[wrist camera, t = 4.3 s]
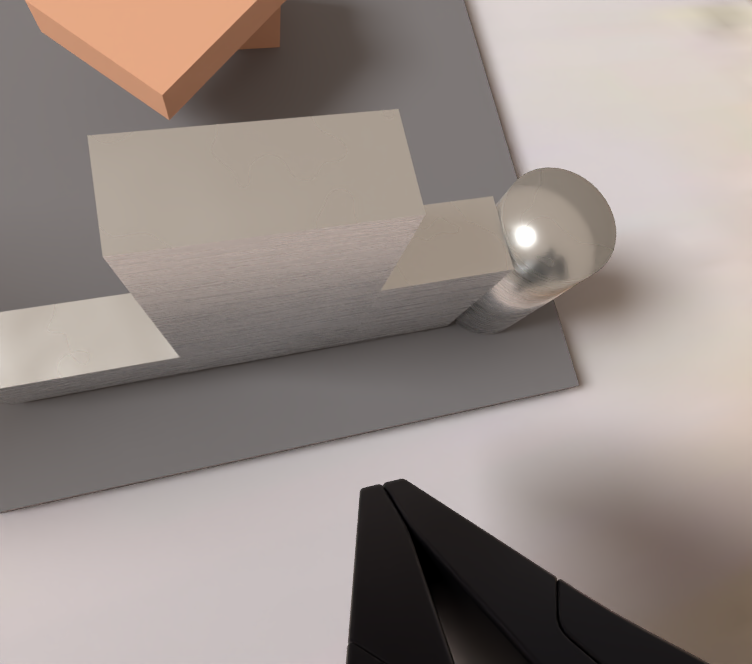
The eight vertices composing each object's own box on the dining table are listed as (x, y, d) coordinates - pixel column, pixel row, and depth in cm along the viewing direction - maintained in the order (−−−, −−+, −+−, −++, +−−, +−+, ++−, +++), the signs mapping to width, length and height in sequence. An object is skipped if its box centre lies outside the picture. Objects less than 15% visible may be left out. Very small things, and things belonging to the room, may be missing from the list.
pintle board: (566, 389, 19) (657, 362, 14) (-5, 514, 15) (-122, 530, 10) (448, -12, 22) (493, -134, 17) (-44, 5, 18) (-145, -146, 14)
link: (534, 325, 18) (757, 198, 10) (11, 423, 14) (-326, 355, 6) (510, 243, 18) (702, 58, 10) (3, 319, 15) (-317, 133, 7)
